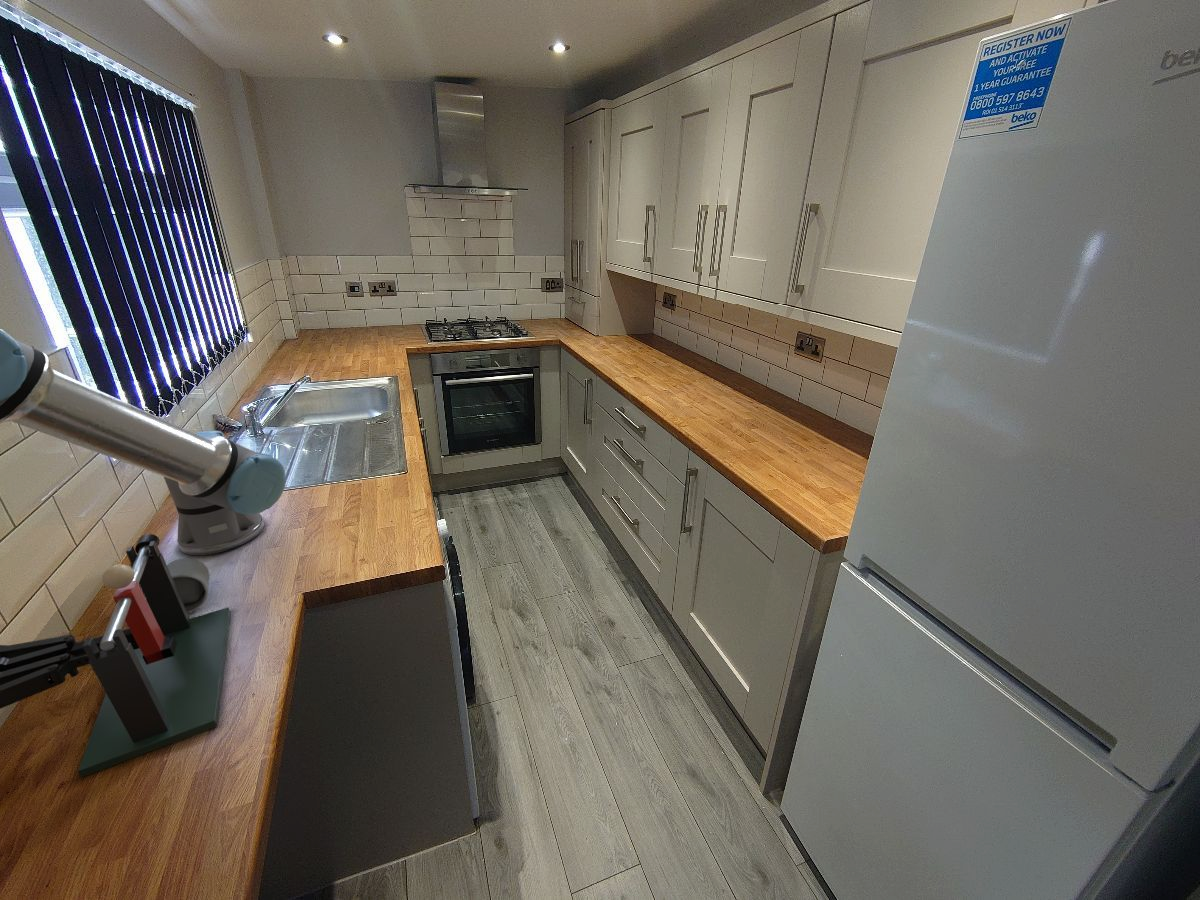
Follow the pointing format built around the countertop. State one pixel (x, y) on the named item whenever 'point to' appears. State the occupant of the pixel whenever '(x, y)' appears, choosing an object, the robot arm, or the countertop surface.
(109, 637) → the foosball rod
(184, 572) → the ceramic mug
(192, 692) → the foosball frame
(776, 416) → the countertop surface
